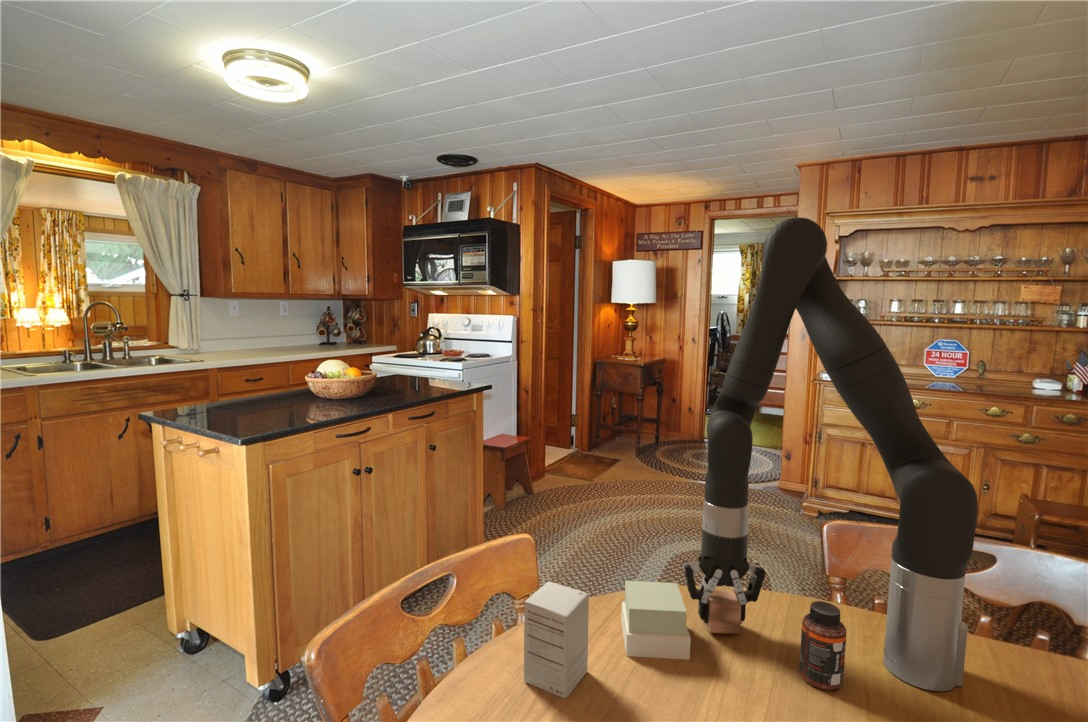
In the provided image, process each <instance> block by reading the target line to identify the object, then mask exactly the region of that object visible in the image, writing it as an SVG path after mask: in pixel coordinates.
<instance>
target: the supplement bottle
mask: <svg viewBox="0 0 1088 722" xmlns="http://www.w3.org/2000/svg"><path fill="white" fill-rule="evenodd" d="M800 637H801V638H800V650H799V651H800V652H799V654H800V655H799V674H800V676H801V677H802V679H804V681H806V683H808V684H809V685H811V686H813V687H816V688H818V689H822V690H826V691H836V690H839V689H840V688H841V687H842V686H843V682H844V675H845V661H846V650H847V649H846V647H847V645H846V644H847V629H846V626H845V625H844V623H843V622H842V621H841V610H840V608H838V607H837V605H834V604H832V603H830V602H826V601H821V600H817V601H816V600H815V601H812V602H811V603H810V609H809V613H807V614H805V615H804V617H803V618H802V623H801V635H800Z"/></svg>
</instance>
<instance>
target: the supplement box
mask: <svg viewBox="0 0 1088 722" xmlns="http://www.w3.org/2000/svg"><path fill="white" fill-rule="evenodd" d="M589 602H590V594H589V593H587V592H585V591H582V590H579V589H576V588H572V587H568V586H566V585H561V584H560V583H555V582H552V581H547V582H546V583H545V584H544V585H542V586H541V587H540V588H539V589H537V591H535V592H534V593H533V594H532V595H530V596H529V597H528V598H527V599H526V600H524V614H523V615H524V620H523V621H524V622H523V623H524V625H523V626H524V628H523V629H524V630H523V635H524V636H523V681H524V682H525V683H527V684H529V685H531V686H534V687H537V688H538V689H541V690H544V691H545V692H547V693H551V694H552V695H555V696H557V697H559V698H563V699H568V697H569V695H570V694H571V693H572V692H573V691H574V689H575V688H576V687H577V686H578V683H580V682H581V680H582V679H583V677H584V676H585V675H586V673H587V672H588V670H589V669H588V662H589V661H588V660H589V658H588V656H589V655H588V654H589V649H588V648H589V609H590V607H589V606H590V603H589Z"/></svg>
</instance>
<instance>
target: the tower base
mask: <svg viewBox="0 0 1088 722" xmlns="http://www.w3.org/2000/svg"><path fill="white" fill-rule="evenodd" d="M620 613H621V615H620V616H621V620H620V622H621V630H622V634H623V635H622V636H623V643H624V649H625V654H626V655H625V656H626V657H636V658H638V657H639V658H652V659H653V658H655V659H656V658H657V659H673V660H688V661H690V660H691V659H690V658H691V656H690V655H691V639H692V638H691V635H690V632H689V630H688V626H687V625H686V635H668V634H649V633H632V632H629V630H628V623H627V615H626V608H625V600H624V601H621V612H620Z"/></svg>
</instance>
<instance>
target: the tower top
mask: <svg viewBox="0 0 1088 722" xmlns="http://www.w3.org/2000/svg"><path fill="white" fill-rule="evenodd" d="M624 582H625V583H624V602H625V608H626V615H627V623H628V630H629V632H632V633H649V634H668V635H686V626H687V616H688V615H687V614H688V613H687V608H686V606H685V603H684V600H683V596H682V593H681V591H680V588H679V585H678V583H677V582H664V581H663V582H660V581H641V580H640V581H639V580H636V581H635V580H625V581H624Z"/></svg>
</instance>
